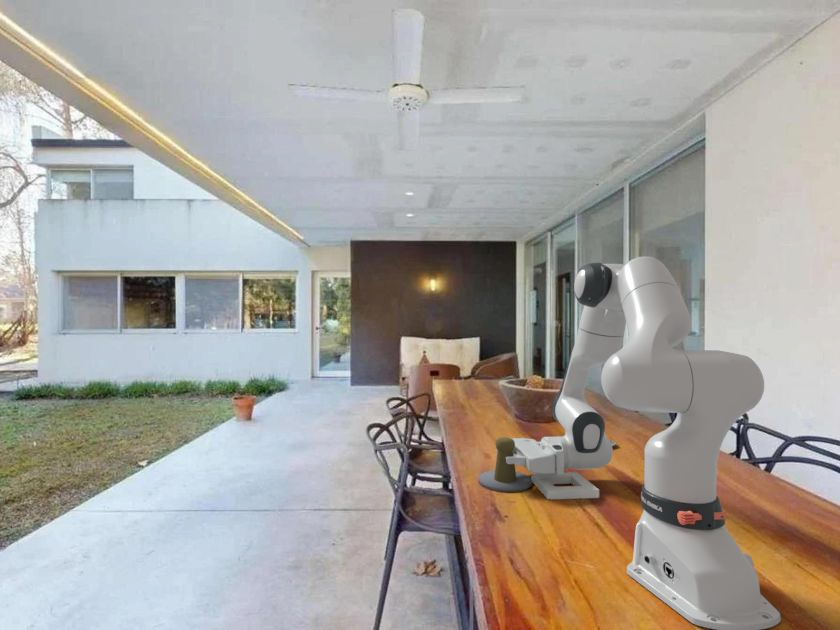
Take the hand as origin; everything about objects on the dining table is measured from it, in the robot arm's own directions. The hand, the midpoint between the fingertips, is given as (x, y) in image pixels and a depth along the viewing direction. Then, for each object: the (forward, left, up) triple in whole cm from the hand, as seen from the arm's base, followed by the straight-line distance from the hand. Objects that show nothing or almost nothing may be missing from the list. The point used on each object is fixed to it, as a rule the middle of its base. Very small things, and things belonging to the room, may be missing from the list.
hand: (501, 454), depth 126 cm
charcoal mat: (0, -1, -8) cm, 8 cm away
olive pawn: (0, -1, -7) cm, 7 cm away
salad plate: (+34, -39, -8) cm, 52 cm away
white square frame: (-6, -15, -8) cm, 18 cm away
